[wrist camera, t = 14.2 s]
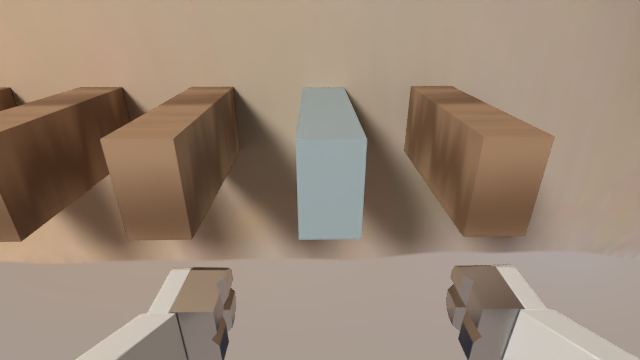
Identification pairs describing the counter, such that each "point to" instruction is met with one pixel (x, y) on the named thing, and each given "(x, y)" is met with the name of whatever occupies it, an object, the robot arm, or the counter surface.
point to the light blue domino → (329, 166)
